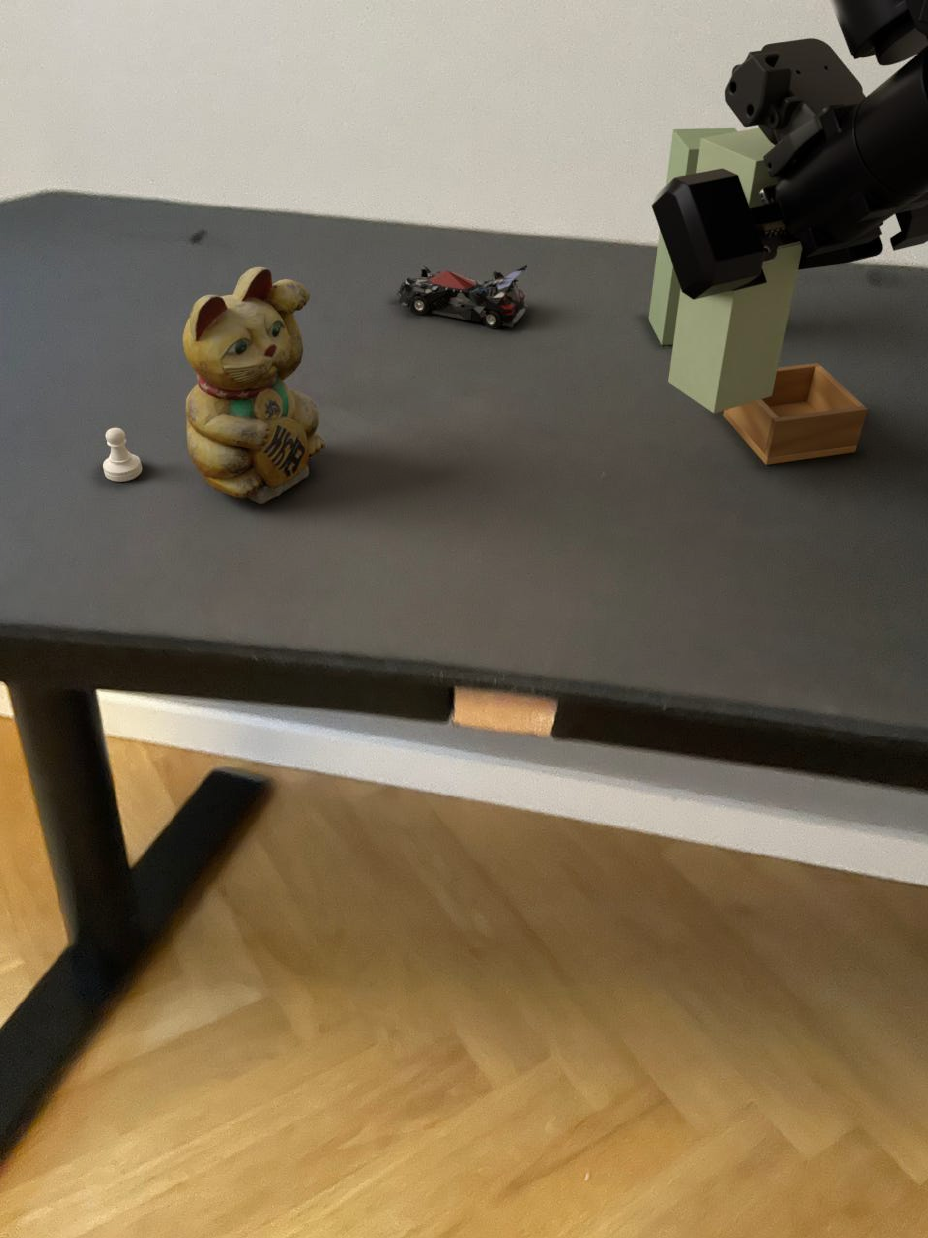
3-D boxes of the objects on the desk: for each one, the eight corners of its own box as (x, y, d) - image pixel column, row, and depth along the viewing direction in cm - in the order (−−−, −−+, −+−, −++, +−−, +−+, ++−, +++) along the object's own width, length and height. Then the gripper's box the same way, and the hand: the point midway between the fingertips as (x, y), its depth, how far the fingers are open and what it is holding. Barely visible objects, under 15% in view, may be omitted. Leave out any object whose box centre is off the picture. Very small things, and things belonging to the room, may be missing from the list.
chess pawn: (127, 458, 77) (117, 415, 74) (150, 471, 75) (140, 428, 73) (97, 473, 75) (86, 430, 73) (120, 486, 74) (109, 443, 72)
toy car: (509, 334, 92) (511, 289, 89) (382, 311, 95) (381, 266, 93) (532, 306, 96) (534, 262, 94) (410, 285, 99) (409, 241, 97)
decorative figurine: (254, 528, 70) (221, 314, 60) (162, 490, 74) (117, 281, 64) (342, 461, 76) (326, 257, 67) (253, 429, 80) (225, 229, 70)
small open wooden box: (855, 452, 78) (868, 408, 76) (765, 465, 77) (775, 421, 74) (807, 404, 83) (817, 362, 81) (722, 415, 82) (730, 373, 80)
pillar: (703, 317, 95) (734, 127, 84) (718, 342, 91) (753, 147, 81) (648, 319, 94) (672, 128, 84) (661, 345, 91) (689, 148, 80)
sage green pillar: (772, 395, 72) (823, 147, 62) (713, 413, 70) (756, 161, 60) (724, 365, 75) (765, 125, 65) (667, 382, 73) (700, 137, 63)
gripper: (975, -23, 58) (794, 136, 72) (700, 11, 51) (561, 179, 65) (1045, 171, 58) (849, 291, 72) (778, 231, 51) (621, 350, 65)
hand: (725, 274), depth 69 cm, fingers closed on sage green pillar, 5 cm apart
